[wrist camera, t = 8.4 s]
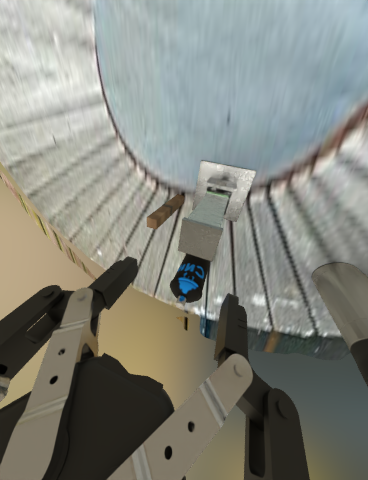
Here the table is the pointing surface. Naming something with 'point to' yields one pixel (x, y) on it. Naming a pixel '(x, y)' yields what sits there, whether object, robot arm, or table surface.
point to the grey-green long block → (204, 226)
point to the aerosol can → (189, 280)
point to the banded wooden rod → (164, 212)
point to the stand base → (224, 185)
